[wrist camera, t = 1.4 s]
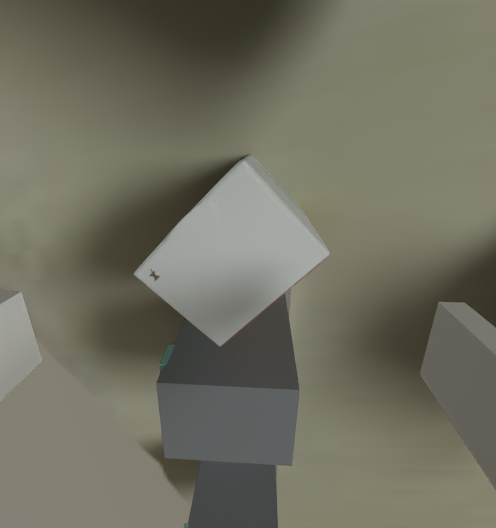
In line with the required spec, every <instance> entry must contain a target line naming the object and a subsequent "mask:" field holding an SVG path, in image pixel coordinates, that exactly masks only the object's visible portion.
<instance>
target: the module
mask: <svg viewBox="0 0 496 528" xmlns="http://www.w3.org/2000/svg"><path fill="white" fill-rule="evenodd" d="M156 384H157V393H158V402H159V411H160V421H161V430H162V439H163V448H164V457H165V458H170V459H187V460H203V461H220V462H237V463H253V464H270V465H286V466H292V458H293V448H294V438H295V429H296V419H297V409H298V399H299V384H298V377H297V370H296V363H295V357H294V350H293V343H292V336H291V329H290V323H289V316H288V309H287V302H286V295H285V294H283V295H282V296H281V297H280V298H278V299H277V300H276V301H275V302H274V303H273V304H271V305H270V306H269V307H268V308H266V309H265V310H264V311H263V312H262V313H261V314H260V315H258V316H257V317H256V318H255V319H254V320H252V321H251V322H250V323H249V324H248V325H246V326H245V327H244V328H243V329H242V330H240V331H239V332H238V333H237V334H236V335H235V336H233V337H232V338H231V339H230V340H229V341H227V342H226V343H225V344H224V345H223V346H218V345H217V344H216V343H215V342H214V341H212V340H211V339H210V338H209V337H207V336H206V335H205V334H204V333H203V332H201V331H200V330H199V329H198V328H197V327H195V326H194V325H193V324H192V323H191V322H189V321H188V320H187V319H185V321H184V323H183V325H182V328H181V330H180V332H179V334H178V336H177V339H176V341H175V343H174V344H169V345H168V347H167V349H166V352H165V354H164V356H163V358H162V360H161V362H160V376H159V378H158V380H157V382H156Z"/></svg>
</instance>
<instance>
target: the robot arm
mask: <svg viewBox="0 0 496 528" xmlns="http://www.w3.org/2000/svg"><path fill="white" fill-rule="evenodd" d="M40 362H42V358H41V354H40V351H39V348H38V345H37V341H36V338H35V335H34V332H33V329H32V325H31V322H30V319H29V316H28V312H27V309H26V306H25V303H24V300H23V296H22V293H21V292H17V291H0V402H1V400H3V399H4V398H5V397H6V396H7V395H8V394H9V393H10V392H11V391H12V390H13V389H14V388H15V387H16V386H17V385H18V384H19V383H20V382H21V381H22V380H23V379H24V378H25V377H26V376H27V375H28V374H29V373H30V372H31V371H32V370H33V369H34V368H35V367H36V366H37V365H38V364H39V363H40ZM420 376H421V377H422V379H423V380H424V382H425V383H426V385H427V386H428V388H429V389H430V391H431V393H432V394H433V396H434V397H435V399H436V400H437V402H438V403H439V405H440V406H441V408H442V409H443V411H444V412H445V414H446V415H447V417H448V418H449V420H450V421H451V423H452V424H453V426H454V427H455V429H456V430H457V432H458V433H459V435H460V436H461V438H462V439H463V441H464V443H465V444H466V446H467V447H468V449H469V450H470V452H471V453H472V455H473V456H474V458H475V459H476V461H477V462H478V464H479V465H480V467H481V468H482V470H483V471H484V473H485V474H486V476H487V477H488V479H489V480H490V482H491V483H492V485H493V486H494V488H495V490H496V327H494V326H493V325H492V324H491V323H489V322H488V321H487V320H486V319H484V318H483V317H482V316H481V315H480V314H478V313H477V312H476V311H475V310H473V309H472V308H471V307H470V306H468V305H467V304H466V303H465V302H438V305H437V309H436V313H435V317H434V321H433V325H432V328H431V332H430V336H429V340H428V344H427V348H426V351H425V355H424V359H423V363H422V367H421V371H420Z"/></svg>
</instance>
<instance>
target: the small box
mask: <svg viewBox="0 0 496 528" xmlns="http://www.w3.org/2000/svg"><path fill="white" fill-rule="evenodd" d="M328 256H330V253H329V250H328V249H327V247H326V245H325V244H324V242H323V241H322V239H321V238H320V236H319V235H318V233H317V232H316V230H315V229H314V227H313V226H312V224H311V223H310V221H309V220H308V218H307V217H306V215H305V213H304V212H303V211H302V209H301V208H300V206H299V205H298V204H297V203H296V202H295V201H294V200H293V199H292V197H291V196H290V195H289V194H288V193H287V192H286V191H285V190H284V189H283V188H282V187H281V186H280V184H279V183H278V182H277V181H276V180H275V179H274V178H273V177H272V176H271V175H270V174H269V173H268V171H267V170H266V169H265V168H264V167H263V166H262V165H261V164H260V163H259V162H258V161H257V160H256V159H255V158H254V156H253V155H251V154H249V155H248V156H246V157H244V158H243V159H241V160H240V161H238V162H237V163H236V164H235V165H234V166H233V167H232V168H231V169H230V170H229V171H228V172H227V173H226V174H225V175H224V176H223V178H222V179H221V180H220V181H219V182H218V183H217V184H216V185H215V186H214V187H213V188H212V189H211V190H210V191H209V192H208V193H207V194H206V195H205V196H204V197H203V198H202V199H201V200H200V201H199V202H198V203H197V204H196V205H195V206H194V207H193V208H192V209H191V210H190V211H189V212H188V213H187V214H186V215H185V216H184V218H183V219H182V220H181V221H180V222H179V223H178V224H177V225H176V226H175V227H174V228H173V229H172V230H171V231H170V232H169V233H168V235H167V236H166V237H165V239H164V240H163V241H162V242H161V243H160V244H159V245H158V246H157V247H156V249H155V250H154V251H153V252H152V253H151V254H150V255H149V256H148V257H147V258H146V259H145V261H144V262H143V263H142V264H141V265H140V266H139V267H138V268H137V269H136V271H135V272H134V276H135V277H137V278H138V279H139V280H141V281H142V282H143V283H144V284H146V285H147V286H148V287H149V288H150V289H151V290H152V291H154V292H155V293H156V294H157V295H158V296H159V297H161V298H162V299H163V300H164V301H165V302H167V303H168V304H169V305H170V306H171V307H173V308H174V309H175V310H176V311H177V312H179V313H180V314H181V315H182V316H183V317H185V318H186V319H187V320H188V321H189V322H191V323H192V324H193V325H194V326H195V327H197V328H198V329H199V330H200V331H201V332H203V333H204V334H205V335H206V336H207V337H209V338H210V339H211V340H212V341H214V342H215V343H216V344H217V345H218V346H223V345H224V344H225V343H226V342H227V341H229V340H230V339H231V338H232V337H233V336H235V335H236V334H237V333H238V332H239V331H240V330H242V329H243V328H244V327H245V326H246V325H248V324H249V323H250V322H251V321H252V320H254V319H255V318H256V317H257V316H258V315H260V314H261V313H262V312H263V311H264V310H265V309H266V308H268V307H269V306H270V305H271V304H273V303H274V302H275V301H276V300H277V299H278V298H280V297H281V296H282V295H283V294H285V293H286V292H287V291H288V290H289V289H290V288H292V287H293V286H294V285H295V284H296V283H298V282H299V281H300V280H301V279H302V278H303V277H305V276H306V275H307V274H308V273H309V272H310V271H312V270H313V269H314V268H315V267H316V266H318V265H319V264H320V263H321V262H322V261H324V260H325V259H326V258H327V257H328Z"/></svg>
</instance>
